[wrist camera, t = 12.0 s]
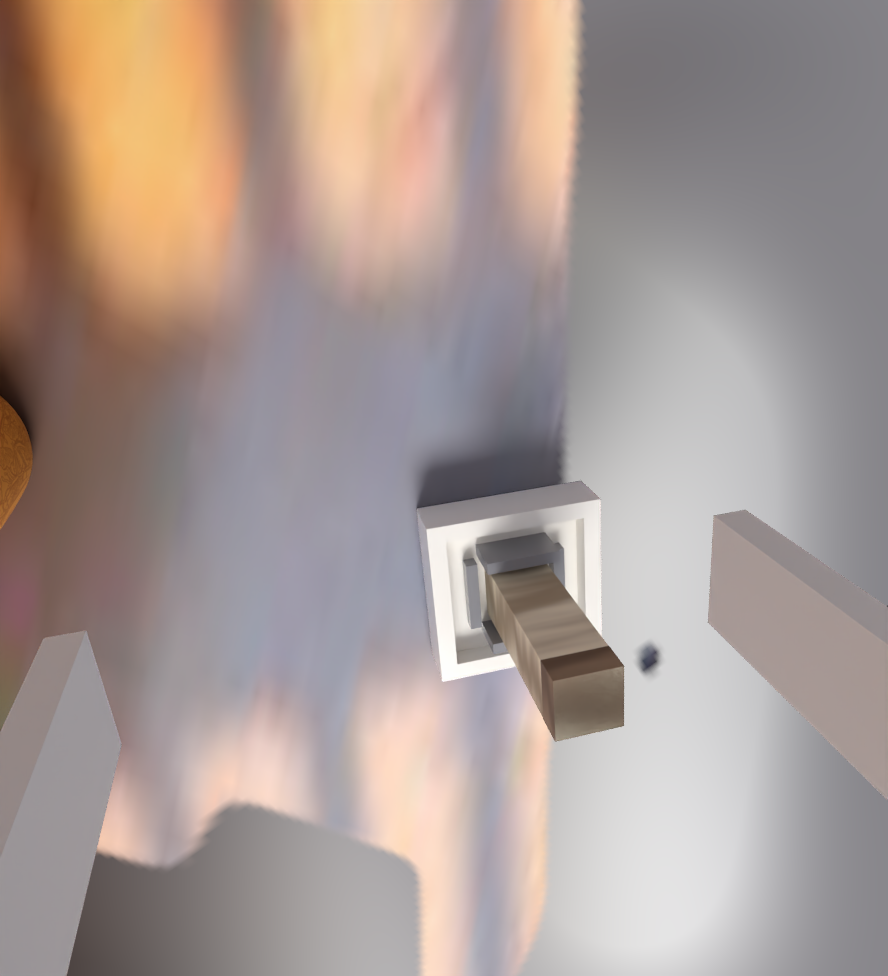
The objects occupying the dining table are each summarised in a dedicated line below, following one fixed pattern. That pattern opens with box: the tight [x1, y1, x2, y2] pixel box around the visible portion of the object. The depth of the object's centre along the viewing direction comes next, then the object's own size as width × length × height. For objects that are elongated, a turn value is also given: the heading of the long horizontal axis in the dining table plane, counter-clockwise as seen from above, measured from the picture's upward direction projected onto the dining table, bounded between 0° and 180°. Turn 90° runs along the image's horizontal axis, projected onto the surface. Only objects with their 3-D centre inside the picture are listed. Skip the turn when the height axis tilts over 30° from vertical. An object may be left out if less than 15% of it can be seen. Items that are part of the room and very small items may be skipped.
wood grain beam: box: [484, 564, 624, 741], centre depth 49 cm, size 4×4×14 cm
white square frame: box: [416, 481, 602, 682], centre depth 55 cm, size 12×12×5 cm
